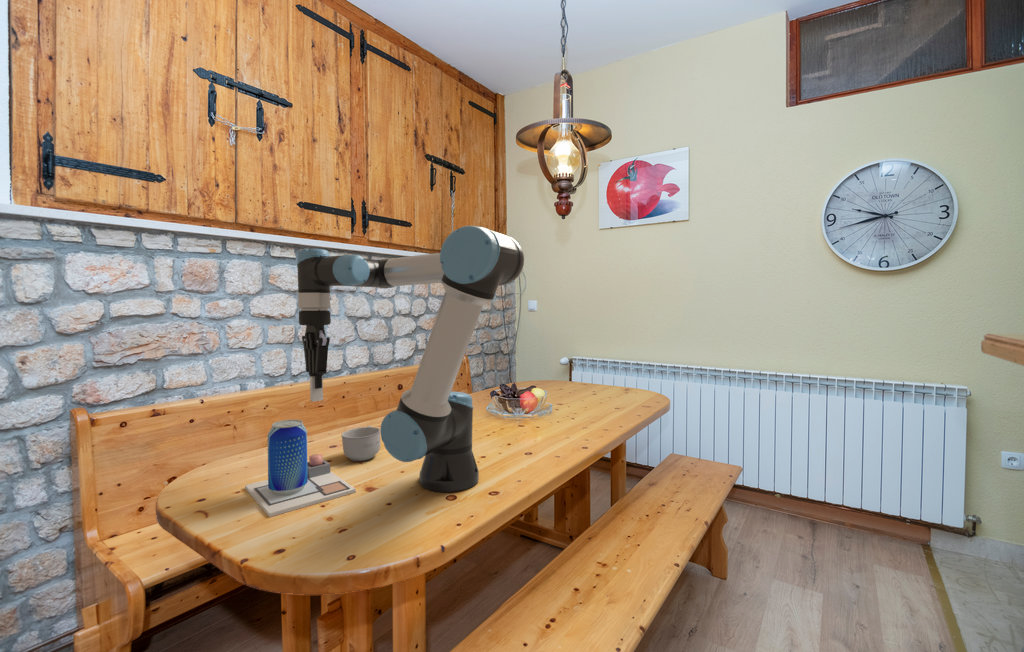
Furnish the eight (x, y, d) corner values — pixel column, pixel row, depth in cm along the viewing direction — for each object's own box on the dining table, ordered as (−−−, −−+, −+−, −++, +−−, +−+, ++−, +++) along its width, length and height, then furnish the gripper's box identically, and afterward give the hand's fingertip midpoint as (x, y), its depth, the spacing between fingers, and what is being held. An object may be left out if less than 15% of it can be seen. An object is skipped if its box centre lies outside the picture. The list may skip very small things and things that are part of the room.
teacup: (368, 465, 127) (368, 437, 126) (333, 462, 129) (333, 434, 128) (391, 450, 140) (391, 424, 140) (359, 447, 142) (359, 422, 142)
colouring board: (355, 492, 109) (355, 479, 109) (269, 517, 96) (269, 502, 96) (323, 469, 123) (323, 457, 123) (244, 488, 110) (244, 475, 110)
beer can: (269, 499, 102) (268, 429, 101) (267, 486, 109) (266, 421, 109) (309, 492, 106) (308, 425, 105) (305, 479, 114) (305, 417, 113)
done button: (324, 467, 119) (324, 456, 118) (311, 470, 116) (311, 459, 116) (319, 464, 121) (319, 453, 121) (307, 467, 119) (307, 455, 119)
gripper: (339, 309, 114) (341, 402, 115) (319, 309, 124) (321, 395, 125) (308, 309, 109) (311, 406, 110) (290, 309, 119) (293, 398, 120)
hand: (316, 400), depth 118 cm, fingers closed
